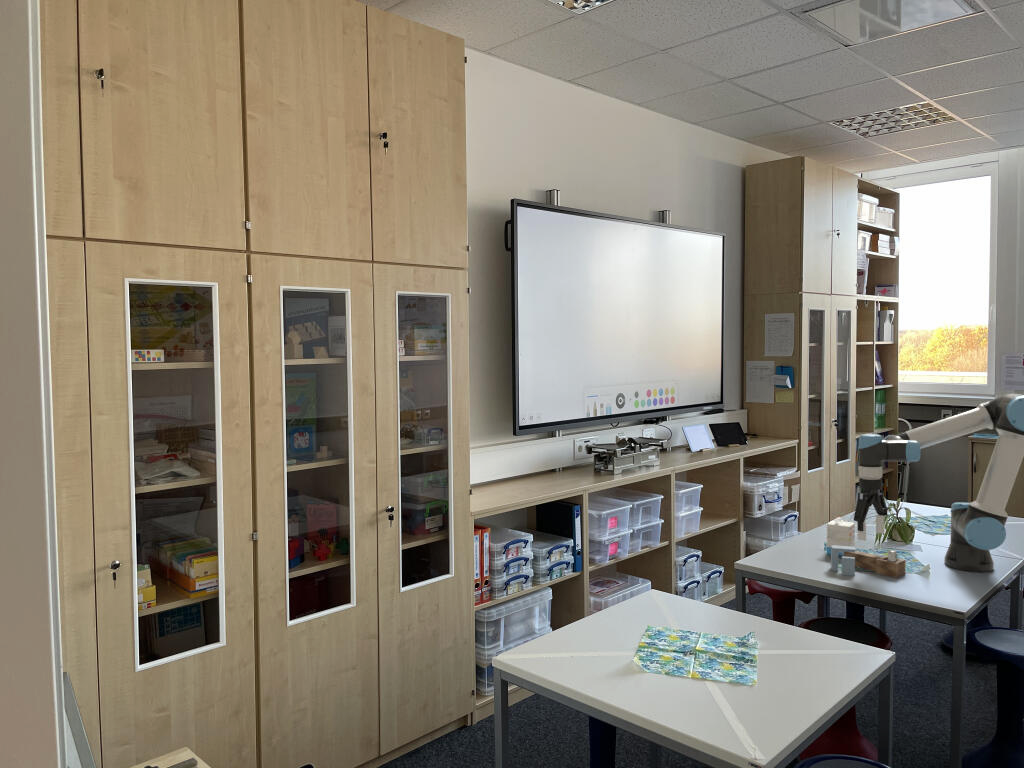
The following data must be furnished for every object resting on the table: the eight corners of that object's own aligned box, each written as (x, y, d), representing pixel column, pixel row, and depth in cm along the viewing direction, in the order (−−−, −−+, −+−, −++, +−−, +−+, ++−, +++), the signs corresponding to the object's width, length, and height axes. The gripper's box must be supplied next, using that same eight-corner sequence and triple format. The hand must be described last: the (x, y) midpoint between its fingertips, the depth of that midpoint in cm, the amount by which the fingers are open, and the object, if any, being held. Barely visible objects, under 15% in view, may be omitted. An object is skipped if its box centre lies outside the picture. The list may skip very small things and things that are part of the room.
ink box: (849, 557, 280) (850, 522, 279) (826, 553, 285) (826, 519, 285) (854, 552, 287) (855, 518, 286) (832, 548, 292) (832, 515, 291)
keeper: (853, 569, 265) (854, 546, 265) (856, 575, 258) (856, 552, 257) (831, 567, 267) (831, 545, 267) (832, 573, 260) (833, 550, 260)
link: (905, 573, 259) (905, 559, 259) (896, 577, 255) (896, 563, 255) (850, 561, 274) (851, 548, 274) (841, 565, 270) (841, 551, 270)
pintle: (896, 573, 260) (897, 551, 259) (895, 575, 257) (896, 553, 257) (888, 572, 261) (888, 549, 261) (886, 574, 259) (887, 551, 258)
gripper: (876, 472, 275) (877, 528, 275) (842, 481, 259) (843, 540, 260) (897, 474, 269) (898, 532, 270) (863, 483, 253) (864, 544, 254)
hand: (871, 536), depth 265 cm, fingers open, 13 cm apart
